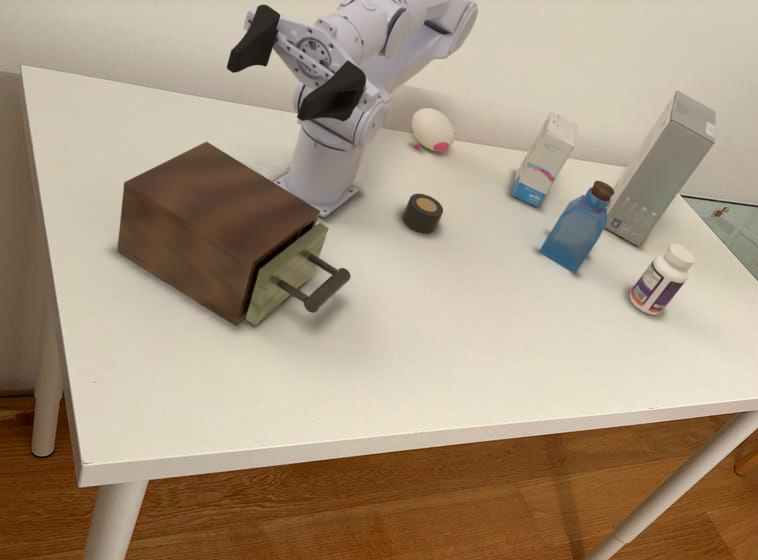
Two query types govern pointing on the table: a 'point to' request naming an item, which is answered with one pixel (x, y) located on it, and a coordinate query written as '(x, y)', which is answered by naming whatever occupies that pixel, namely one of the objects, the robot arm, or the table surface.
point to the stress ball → (432, 129)
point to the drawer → (293, 275)
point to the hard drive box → (660, 167)
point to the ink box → (544, 159)
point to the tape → (422, 213)
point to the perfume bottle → (579, 228)
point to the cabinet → (208, 226)
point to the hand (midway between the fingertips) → (267, 85)
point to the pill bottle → (662, 280)
